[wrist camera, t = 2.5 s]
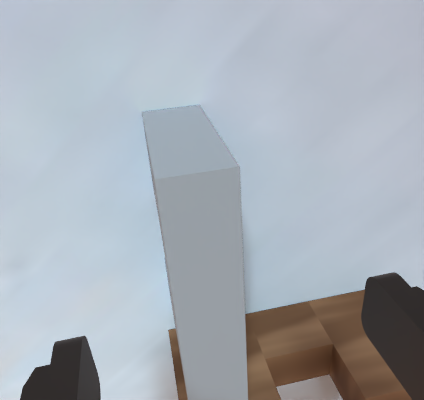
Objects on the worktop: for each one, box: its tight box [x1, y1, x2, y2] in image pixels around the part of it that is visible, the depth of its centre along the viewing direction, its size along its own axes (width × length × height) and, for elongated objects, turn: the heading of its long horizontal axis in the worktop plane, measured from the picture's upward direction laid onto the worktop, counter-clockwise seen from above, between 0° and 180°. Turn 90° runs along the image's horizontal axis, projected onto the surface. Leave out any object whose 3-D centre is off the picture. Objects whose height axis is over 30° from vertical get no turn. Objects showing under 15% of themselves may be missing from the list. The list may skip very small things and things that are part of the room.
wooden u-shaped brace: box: [168, 290, 412, 400], centre depth 27 cm, size 3×16×8 cm, turn 94°
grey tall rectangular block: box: [142, 105, 248, 400], centre depth 21 cm, size 14×3×8 cm, turn 4°
